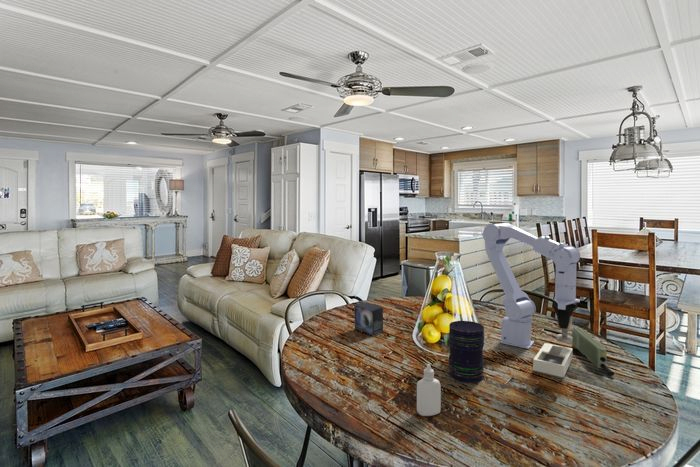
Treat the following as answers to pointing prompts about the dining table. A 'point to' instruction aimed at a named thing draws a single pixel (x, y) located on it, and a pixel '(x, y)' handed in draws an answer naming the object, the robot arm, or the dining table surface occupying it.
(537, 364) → the white hollow rectangular frame
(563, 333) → the keyhole peg
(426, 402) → the eye dropper bottle
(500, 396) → the dining table surface
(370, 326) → the small box
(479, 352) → the storage jar
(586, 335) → the handheld radio
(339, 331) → the dining table surface
